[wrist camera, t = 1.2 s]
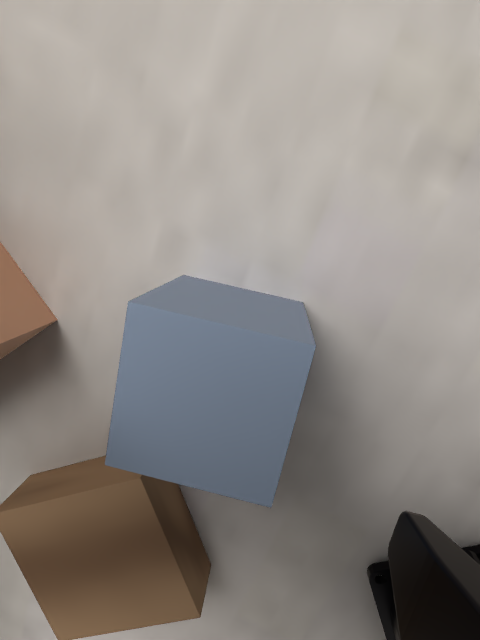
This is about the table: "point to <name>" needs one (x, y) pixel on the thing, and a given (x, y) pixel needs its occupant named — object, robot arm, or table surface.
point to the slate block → (210, 387)
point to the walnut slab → (105, 549)
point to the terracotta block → (19, 306)
